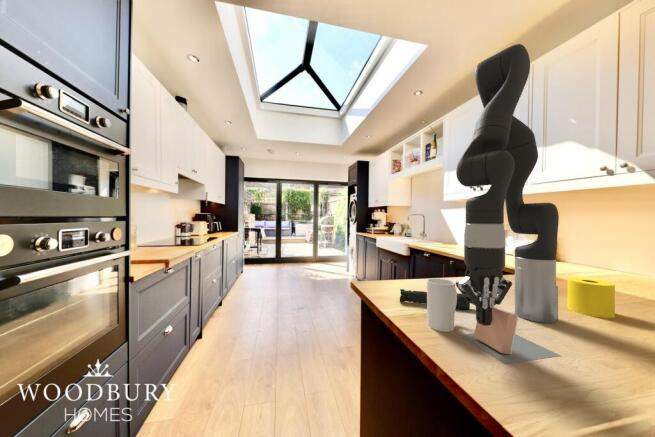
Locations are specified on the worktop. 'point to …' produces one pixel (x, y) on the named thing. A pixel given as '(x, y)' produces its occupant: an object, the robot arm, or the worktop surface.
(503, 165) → the robot arm
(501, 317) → the tile
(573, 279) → the tape roll
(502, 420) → the worktop surface
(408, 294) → the flashlight
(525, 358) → the mat
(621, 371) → the worktop surface
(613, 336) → the worktop surface
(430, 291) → the mug
